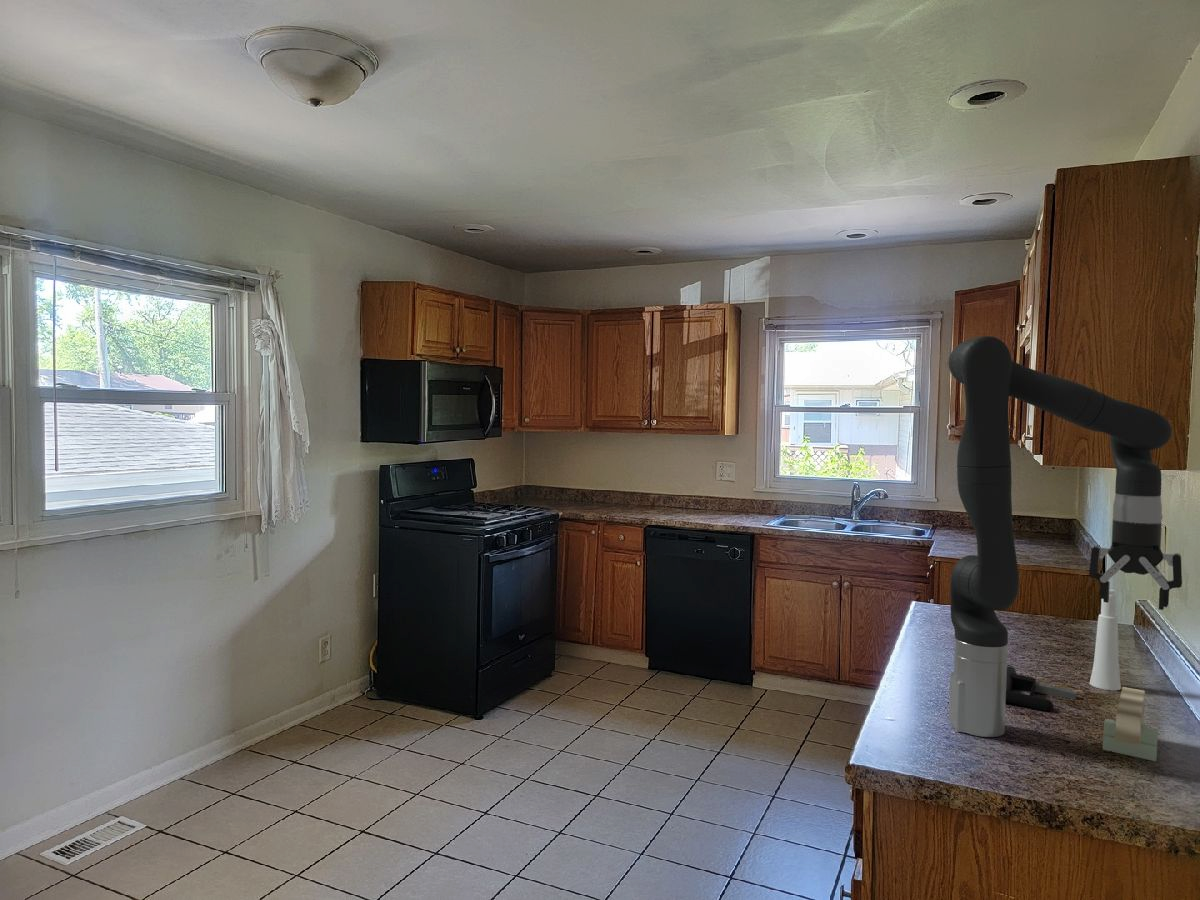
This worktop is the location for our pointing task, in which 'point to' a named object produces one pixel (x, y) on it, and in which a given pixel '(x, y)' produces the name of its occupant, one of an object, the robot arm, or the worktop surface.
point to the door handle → (1032, 691)
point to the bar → (1130, 716)
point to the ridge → (1143, 750)
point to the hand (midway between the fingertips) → (1133, 605)
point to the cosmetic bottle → (1107, 648)
